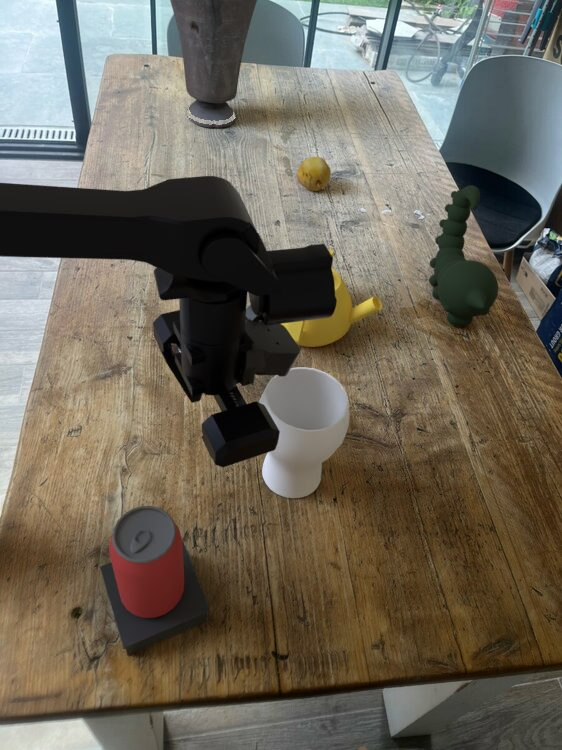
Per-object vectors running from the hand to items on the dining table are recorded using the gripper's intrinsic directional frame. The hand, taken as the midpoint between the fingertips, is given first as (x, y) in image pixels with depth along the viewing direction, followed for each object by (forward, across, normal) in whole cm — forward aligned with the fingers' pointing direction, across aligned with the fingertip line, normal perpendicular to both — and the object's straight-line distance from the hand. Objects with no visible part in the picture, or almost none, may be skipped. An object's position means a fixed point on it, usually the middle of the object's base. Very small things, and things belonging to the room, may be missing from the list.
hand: (210, 431), depth 63 cm
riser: (+13, -10, +10) cm, 19 cm away
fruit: (+13, +63, -48) cm, 80 cm away
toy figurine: (+13, +21, -54) cm, 60 cm away
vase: (+13, +101, -40) cm, 109 cm away
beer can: (+10, -10, +10) cm, 17 cm away
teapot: (+13, +23, -28) cm, 39 cm away
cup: (+13, -1, -11) cm, 17 cm away
